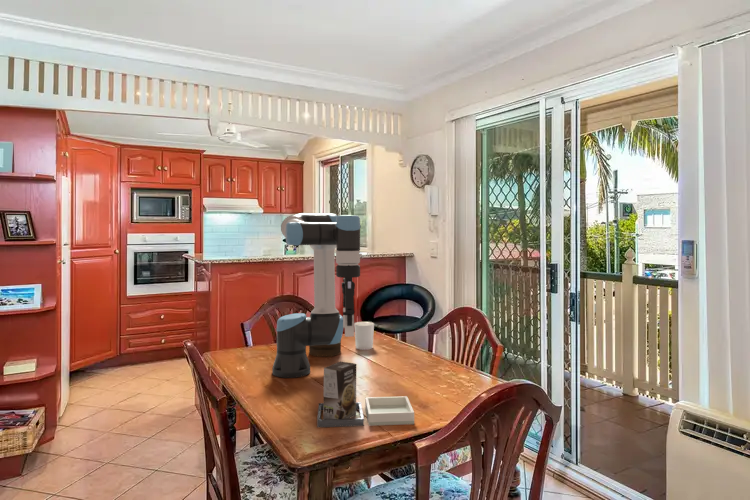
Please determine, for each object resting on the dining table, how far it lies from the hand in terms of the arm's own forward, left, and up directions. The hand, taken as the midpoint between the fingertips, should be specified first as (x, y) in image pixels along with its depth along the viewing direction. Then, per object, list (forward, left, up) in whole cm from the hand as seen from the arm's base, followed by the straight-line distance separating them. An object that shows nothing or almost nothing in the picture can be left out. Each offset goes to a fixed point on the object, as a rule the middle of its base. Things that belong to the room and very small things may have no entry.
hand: (348, 331), depth 145 cm
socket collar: (-3, -4, -25) cm, 26 cm away
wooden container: (-9, +72, -26) cm, 77 cm away
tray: (+12, -5, -25) cm, 29 cm away
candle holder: (+10, +80, -26) cm, 85 cm away
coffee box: (-3, -5, -26) cm, 26 cm away
